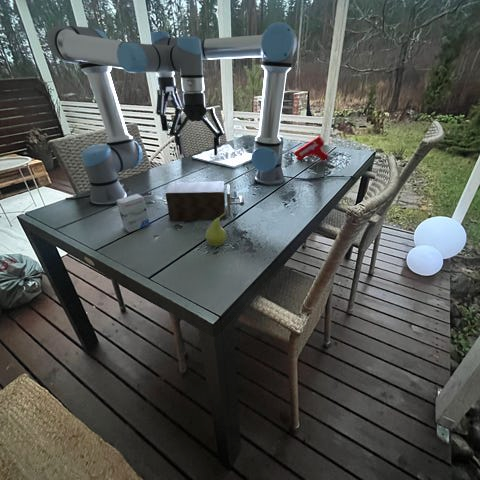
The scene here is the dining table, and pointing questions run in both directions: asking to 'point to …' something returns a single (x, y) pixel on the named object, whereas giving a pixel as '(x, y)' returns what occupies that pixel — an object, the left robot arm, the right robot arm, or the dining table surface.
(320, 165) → the dining table surface
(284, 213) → the dining table surface
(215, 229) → the fruit
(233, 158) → the relief map
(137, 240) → the dining table surface
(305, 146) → the toy gun
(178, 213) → the cabinet
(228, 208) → the drawer
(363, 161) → the dining table surface
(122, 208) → the ink box
